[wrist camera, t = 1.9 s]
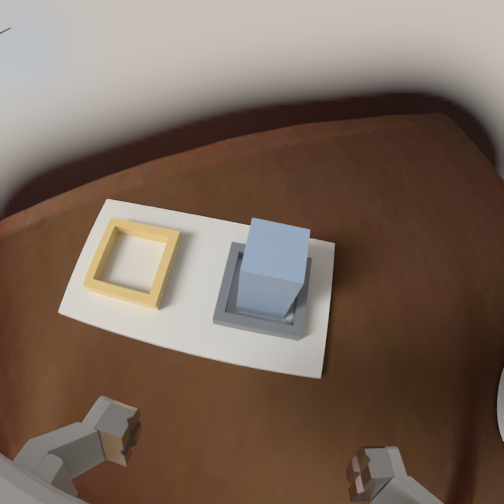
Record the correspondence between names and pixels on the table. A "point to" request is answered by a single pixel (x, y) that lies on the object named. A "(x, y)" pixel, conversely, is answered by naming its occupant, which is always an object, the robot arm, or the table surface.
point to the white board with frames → (194, 290)
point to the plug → (272, 268)
